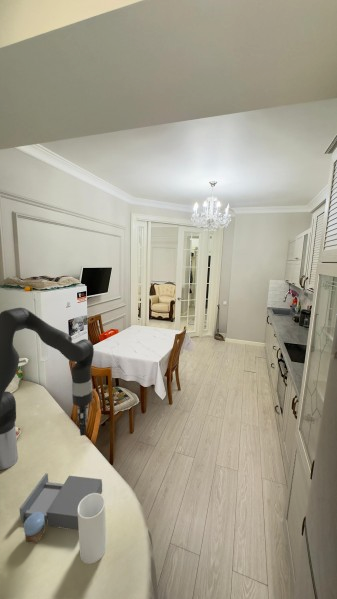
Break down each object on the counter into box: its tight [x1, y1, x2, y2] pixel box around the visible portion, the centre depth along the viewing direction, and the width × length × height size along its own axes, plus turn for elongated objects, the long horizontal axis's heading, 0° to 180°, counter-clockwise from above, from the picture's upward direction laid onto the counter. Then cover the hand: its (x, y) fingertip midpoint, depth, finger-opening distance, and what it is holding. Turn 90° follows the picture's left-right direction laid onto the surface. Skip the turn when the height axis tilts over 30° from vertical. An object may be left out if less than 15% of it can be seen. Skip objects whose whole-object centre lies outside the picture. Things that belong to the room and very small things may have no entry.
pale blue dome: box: [23, 512, 46, 536], centre depth 81 cm, size 6×6×2 cm
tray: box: [19, 473, 64, 522], centre depth 92 cm, size 14×15×5 cm
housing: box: [46, 475, 103, 531], centre depth 91 cm, size 14×15×6 cm
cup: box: [78, 493, 107, 565], centre depth 77 cm, size 8×8×16 cm
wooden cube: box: [24, 525, 45, 544], centre depth 81 cm, size 4×4×4 cm
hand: (83, 427), depth 98 cm, fingers open, 8 cm apart
